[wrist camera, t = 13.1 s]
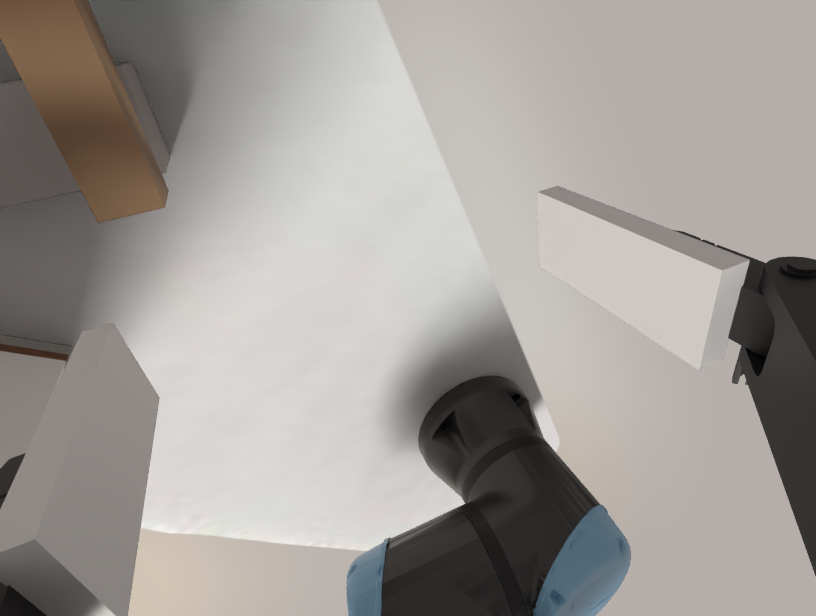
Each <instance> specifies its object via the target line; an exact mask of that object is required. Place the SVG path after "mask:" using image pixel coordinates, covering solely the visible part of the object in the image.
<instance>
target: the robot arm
mask: <svg viewBox="0 0 816 616" xmlns="http://www.w3.org/2000/svg"><path fill="white" fill-rule="evenodd" d="M538 251H539V254H538V255H539V266H540V267H541V268H543V269H544V270H546V271H547V272H549V273H550V274H552V275H553V276H555V277H557V278H558V279H560V280H561V281H563V282H564V283H566V284H567V285H569V286H571V287H572V288H574V289H575V290H577V291H578V292H580V293H581V294H583V295H584V296H586V297H587V298H589V299H590V300H592V301H593V302H595V303H597V304H598V305H600V306H601V307H603V308H604V309H606V310H607V311H609V312H610V313H612V314H614V315H615V316H616V317H618V318H620V319H621V320H623V321H624V322H626V323H627V324H629V325H630V326H632V327H633V328H635V329H636V330H638V331H640V332H641V333H643V334H644V335H646V336H647V337H649V338H650V339H652V340H653V341H655V342H657V343H658V344H660V345H661V346H663V347H664V348H666V349H667V350H669V351H670V352H672V353H674V354H675V355H676V356H678V357H680V358H681V359H683V360H684V361H686V362H687V363H689V364H690V365H692V366H693V367H695V368H697V369H698V370H701V369H703V368H705V367H707V366H710V365H712V364H714V363H716V362H719V361H721V360H723V359H724V355H725V351H726V347H727V344H728V340H729V339H731V340H733V341H735V342H737V343H738V344H740V345H742V346H741V349H740V353H739V356H738V360H737V363H736V367H735V371H734V374H733V378H732V383H735V384H738V381H739V378H740V376H741V375H743V374H744V375H745V377H746V385H748V386H749V389H750V391H751V394H752V397H753V400H754V403H755V406H756V408H757V411H758V414H759V417H760V420H761V423H762V425H763V428H764V431H765V434H766V437H767V439H768V442H769V445H770V448H771V451H772V454H773V457H774V459H775V462H776V465H777V468H778V471H779V474H780V476H781V479H782V482H783V485H784V488H785V491H786V493H787V496H788V499H789V502H790V505H791V508H792V510H793V513H794V516H795V519H796V522H797V525H798V527H799V530H800V533H801V536H802V539H803V542H804V544H805V547H806V550H807V553H808V556H809V559H810V561H811V564H812V567H813V570H814V573H815V576H816V260H814V259H810V258H804V257H779V258H776V259H772V260H770V261H768V262H767V263H764V262H761V261H758V260H756V259H753V258H751V257H748V256H745V255H743V254H740V253H737V252H735V251H732V250H730V249H727V248H724V247H722V246H719V245H717V246H715V244H714V243H711V242H709V241H706V240H701V239H700V238H698V237H696V236H693V235H690V234H688V233H685V232H681V231H676V230H671V229H668V228H665V227H663V226H661V225H658V224H655V223H653V222H650V221H648V220H645V219H642V218H639V217H637V216H634V215H632V214H629V213H627V212H624V211H622V210H619V209H616V208H614V207H611V206H608V205H606V204H603V203H601V202H598V201H596V200H593V199H590V198H588V197H585V196H583V195H580V194H577V193H575V192H572V191H570V190H567V189H565V188H562V187H559V186H556V187H553V188H550V189H546V190H543V191H540V192H538ZM158 404H159V396H158V395H157V393H156V391H155V390H154V388H153V386H152V385H151V383H150V382H149V380H148V378H147V377H146V375H145V373H144V372H143V370H142V369H141V367H140V365H139V364H138V362H137V361H136V359H135V357H134V356H133V354H132V352H131V351H130V349H129V348H128V346H127V344H126V343H125V341H124V339H123V338H122V336H121V335H120V333H119V331H118V330H117V328H116V327H115V325H114V323H113V322H112V323H108V324H105V325H102V326H99V327H95V328H92V329H89V330H86V331H82V332H81V334H80V336H79V339H78V341H77V343H76V345H75V347H74V350H73V352H72V354H71V356H70V358H69V360H68V363H67V365H66V367H65V369H64V371H63V374H62V376H61V378H60V380H59V382H58V384H57V387H56V389H55V391H54V393H53V395H52V398H51V400H50V402H49V404H48V406H47V408H46V411H45V413H44V415H43V417H42V419H41V422H40V424H39V426H38V428H37V430H36V432H35V435H34V437H33V439H32V441H31V443H30V446H29V448H28V450H27V452H26V453H24V454H22V455H19V456H16V457H13V458H10V459H9V460H8V461H7V462H6V463H5V464H4V465H3V466H2V467H1V469H0V616H128V609H129V603H130V596H131V589H132V582H133V575H134V568H135V561H136V555H137V547H138V541H139V534H140V527H141V520H142V514H143V507H144V500H145V493H146V486H147V479H148V472H149V466H150V459H151V452H152V445H153V438H154V431H155V425H156V418H157V411H158ZM419 448H420V451H421V453H422V455H423V457H424V459H425V461H426V463H427V465H428V466H429V468H430V469H431V470H432V471H433V472H434V473H435V474H436V475H437V476H438V477H439V478H440V479H442V480H443V481H444V482H445V483H446V484H447V485H448V486H450V487H451V488H452V489H453V490H454V491H455V492H456V493H458V494H459V495H460V496H461V497H462V499H463V500H464V502H465V504H464V505H462V506H460V507H457V508H455V509H453V510H451V511H449V512H447V513H445V514H443V515H440V516H438V517H436V518H434V519H432V520H430V521H428V522H426V523H424V524H422V525H420V526H417V527H415V528H413V529H411V530H409V531H407V532H405V533H402V534H400V535H398V536H396V537H394V538H387V539H385V540H384V542H383V543H382V544H380V545H378V546H376V547H374V548H373V549H371V550H369V551H367V552H365V553H363V554H361V555H360V556H358V557H357V558H356V559H355V560H354V561H353V563H352V564H351V566H350V568H349V571H348V576H347V603H348V611H349V612H348V613H349V616H595V615H596V614H597V613H598V612H599V611H600V610H601V609H602V608H603V607H604V606H605V605H606V603H608V601H609V600H610V599H611V597H612V596H613V595H614V594H615V592H616V591H617V590H618V588H619V587H620V585H621V583H622V582H623V580H624V578H625V576H626V574H627V571H628V569H629V565H630V560H631V551H630V547H629V544H628V542H627V539H626V538H625V536H624V535H623V534H622V532H621V531H620V530H619V528H618V527H617V525H616V524H615V523H614V521H613V520H612V519H611V517H610V516H609V515H608V513H607V510H606V508H605V507H604V506H603V505H600V504H599V502H598V501H597V500H596V499H595V498H594V497H593V495H592V494H591V493H590V492H589V491H588V490H587V488H586V487H585V486H584V485H583V484H582V483H581V482H580V480H579V479H578V478H577V477H576V476H575V475H574V474H573V472H572V471H571V470H570V469H569V468H568V466H567V465H566V464H565V463H564V462H563V461H562V459H561V458H560V457H559V456H558V455H557V454H556V452H555V451H554V450H553V449H552V448H551V447H550V445H549V444H548V443H547V442H546V441H545V439H544V437H543V435H542V432H541V430H540V427H539V424H538V422H537V419H536V416H535V414H534V411H533V408H532V406H531V403H530V401H529V400H528V398H527V396H526V395H525V394H524V393H523V392H522V391H521V390H520V388H519V387H518V386H517V385H516V384H515V383H513V382H512V381H510V380H508V379H506V378H502V377H494V376H492V377H482V378H477V379H474V380H471V381H468V382H466V383H464V384H461V385H460V386H458V387H456V388H454V389H453V390H451V391H450V392H448V393H447V394H446V395H445V396H443V397H442V398H441V399H440V400H439V401H438V402H437V403H436V404H435V405H434V406H433V407H432V409H431V410H430V411H429V413H428V414H427V416H426V417H425V419H424V421H423V423H422V426H421V429H420V432H419Z"/></svg>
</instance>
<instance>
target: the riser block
mask: <svg viewBox="0 0 816 616" xmlns="http://www.w3.org/2000/svg"><path fill="white" fill-rule="evenodd" d="M115 66H116V68H117V71H118V73H119V75H120V78H121V80H122V82H123V85H124V87H125V90H126V92H127V94H128V97H129V99H130V101H131V104H132V106H133V108H134V111H135V113H136V115H137V118H138V120H139V122H140V125H141V127H142V130H143V132H144V134H145V137H146V139H147V141H148V144H149V146H150V148H151V151H152V153H153V155H154V158H155V160H156V163H157V165H158V167H159V170H160V172H161V173H165V172H166V169H167V166H168V162H169V159H170V154H169V151H168V149H167V146H166V144H165V141H164V139H163V136H162V134H161V131H160V129H159V127H158V124H157V122H156V119H155V117H154V114H153V112H152V109H151V107H150V104H149V102H148V99H147V97H146V94H145V92H144V90H143V87H142V85H141V82H140V80H139V77H138V75H137V72H136V70H135V67H134V65H133V62H127V63H121V64H115ZM77 191H81V190H80V188H79V186H78V184H77V182H76V180H75V178H74V176H73V175H72V173H71V171H70V169H69V167H68V165H67V163H66V161H65V160H64V158H63V156H62V154H61V152H60V150H59V148H58V146H57V145H56V143H55V141H54V139H53V137H52V135H51V133H50V131H49V130H48V128H47V126H46V124H45V122H44V120H43V118H42V116H41V114H40V113H39V111H38V109H37V107H36V105H35V103H34V101H33V99H32V98H31V96H30V94H29V92H28V90H27V88H26V86H25V84H24V83H23V81H22V79H20V80H14V81H8V82H2V83H0V208H3V207H7V206H12V205H17V204H21V203H26V202H31V201H35V200H40V199H45V198H49V197H54V196H58V195H63V194H68V193H72V192H77Z"/></svg>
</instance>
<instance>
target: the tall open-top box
mask: <svg viewBox="0 0 816 616" xmlns="http://www.w3.org/2000/svg"><path fill="white" fill-rule="evenodd" d="M71 350H72V346H66V345H60V344H54V343H48V342H42V341H36V340H30V339H24V338H18V337H12V336H6V335H0V469H1V467H2V466H3V465H4V464H5V463H6V462H7V461H8V460H9V459H10V458H13V457H16V456H19V455H22V454H24V453H26V452H27V450H28V448H29V446H30V443H31V441H32V439H33V437H34V435H35V432H36V430H37V428H38V426H39V424H40V422H41V419H42V417H43V415H44V413H45V411H46V408H47V406H48V404H49V402H50V400H51V398H52V395H53V393H54V391H55V389H56V387H57V384H58V382H59V380H60V378H61V376H62V374H63V371H64V369H65V367H66V365H67V363H68V360H69V358H70V354H71Z"/></svg>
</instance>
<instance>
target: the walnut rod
mask: <svg viewBox="0 0 816 616" xmlns="http://www.w3.org/2000/svg"><path fill="white" fill-rule="evenodd" d="M0 39H1V41H2V43H3V45H4V47H5V49H6V51H7V52H8V54H9V56H10V58H11V60H12V62H13V64H14V66H15V68H16V69H17V71H18V73H19V75H20V77H21V79H22V81H23V83H24V84H25V86H26V88H27V90H28V92H29V94H30V96H31V98H32V99H33V101H34V103H35V105H36V107H37V109H38V111H39V113H40V114H41V116H42V118H43V120H44V122H45V124H46V126H47V128H48V130H49V131H50V133H51V135H52V137H53V139H54V141H55V143H56V145H57V146H58V148H59V150H60V152H61V154H62V156H63V158H64V160H65V161H66V163H67V165H68V167H69V169H70V171H71V173H72V175H73V176H74V178H75V180H76V182H77V184H78V186H79V188H80V190H81V192H82V193H83V195H84V197H85V199H86V201H87V203H88V205H89V207H90V208H91V210H92V212H93V214H94V216H95V218H96V220H97V222H98V223H100V222H104V221H108V220H113V219H117V218H121V217H125V216H130V215H134V214H138V213H143V212H147V211H151V210H156V209H160V208H164V207H165V204H166V200H167V195H168V188H167V186H166V184H165V181H164V179H163V177H162V174H161V172H160V170H159V167H158V165H157V163H156V160H155V158H154V155H153V153H152V151H151V148H150V146H149V144H148V141H147V139H146V137H145V134H144V132H143V130H142V127H141V125H140V122H139V120H138V118H137V115H136V113H135V111H134V108H133V106H132V104H131V101H130V99H129V97H128V94H127V92H126V90H125V87H124V85H123V82H122V80H121V78H120V75H119V73H118V71H117V68H116V66H115V64H114V61H113V59H112V57H111V54H110V52H109V50H108V47H107V45H106V42H105V40H104V38H103V35H102V33H101V31H100V28H99V26H98V24H97V21H96V19H95V17H94V14H93V12H92V10H91V7H90V5H89V2H88V0H0Z"/></svg>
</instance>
